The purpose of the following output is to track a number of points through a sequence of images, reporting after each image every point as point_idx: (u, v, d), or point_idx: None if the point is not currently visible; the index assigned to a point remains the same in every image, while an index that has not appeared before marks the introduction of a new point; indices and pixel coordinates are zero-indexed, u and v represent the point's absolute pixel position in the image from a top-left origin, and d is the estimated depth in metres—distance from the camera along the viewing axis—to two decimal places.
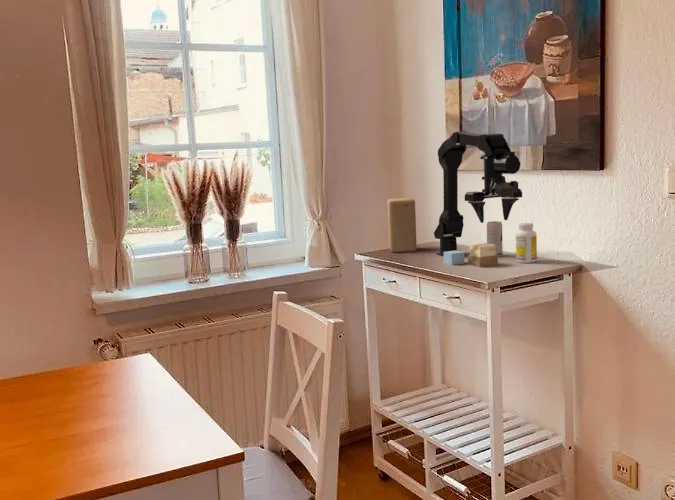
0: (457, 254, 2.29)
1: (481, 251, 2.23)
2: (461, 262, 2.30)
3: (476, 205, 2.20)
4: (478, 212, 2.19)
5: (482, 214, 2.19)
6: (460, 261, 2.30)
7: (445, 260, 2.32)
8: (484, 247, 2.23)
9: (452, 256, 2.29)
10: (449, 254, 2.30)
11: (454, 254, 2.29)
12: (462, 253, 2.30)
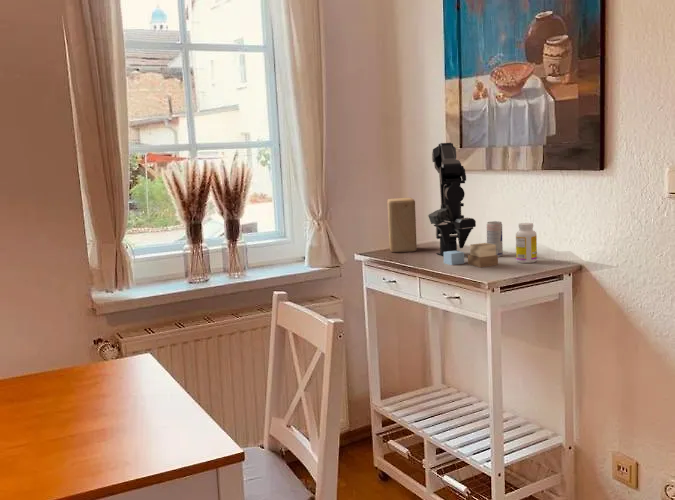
0: (457, 254, 2.29)
1: (481, 251, 2.23)
2: (461, 262, 2.30)
3: None
4: None
5: (442, 237, 2.35)
6: (460, 261, 2.30)
7: (445, 260, 2.32)
8: (484, 247, 2.23)
9: (452, 256, 2.29)
10: (449, 254, 2.30)
11: (454, 254, 2.29)
12: (462, 253, 2.30)
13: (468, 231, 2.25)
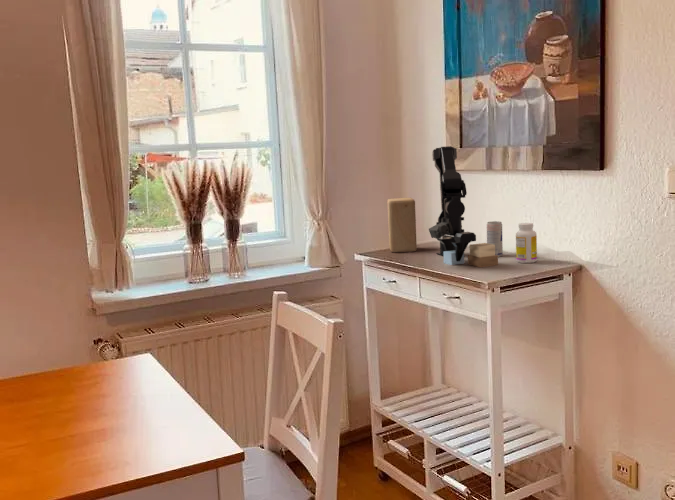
0: None
1: (480, 251, 2.23)
2: (461, 262, 2.30)
3: None
4: None
5: None
6: (460, 261, 2.30)
7: (445, 260, 2.32)
8: (483, 247, 2.23)
9: (452, 256, 2.29)
10: (449, 254, 2.30)
11: (454, 254, 2.29)
12: None
13: (465, 244, 2.28)
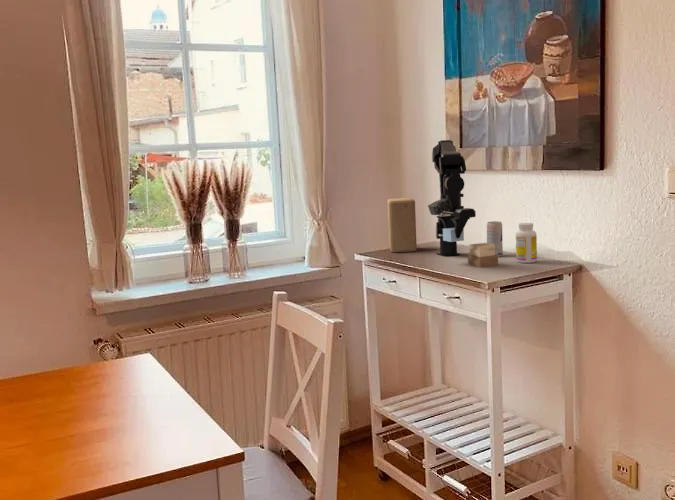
0: None
1: (481, 251, 2.23)
2: (460, 239, 2.29)
3: None
4: None
5: None
6: (459, 238, 2.29)
7: (444, 237, 2.31)
8: (483, 247, 2.23)
9: (451, 232, 2.27)
10: (448, 230, 2.28)
11: (453, 230, 2.27)
12: None
13: (465, 221, 2.26)
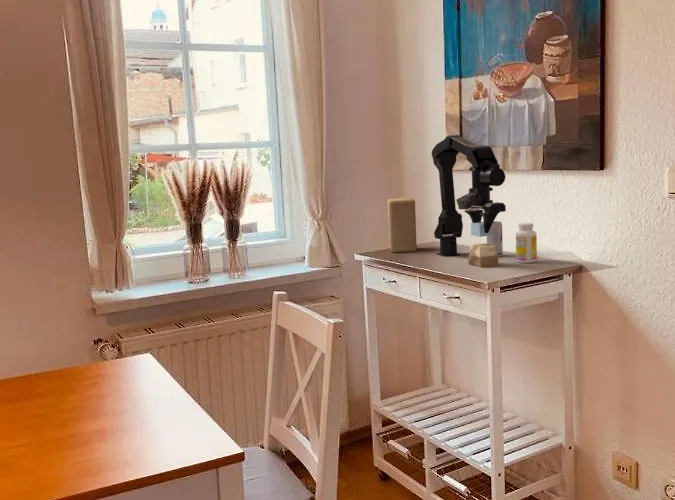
0: None
1: (481, 251, 2.23)
2: (489, 233, 2.24)
3: None
4: None
5: None
6: (488, 233, 2.24)
7: (472, 232, 2.26)
8: (484, 247, 2.23)
9: (480, 227, 2.22)
10: (477, 225, 2.23)
11: (482, 225, 2.22)
12: None
13: (494, 215, 2.21)
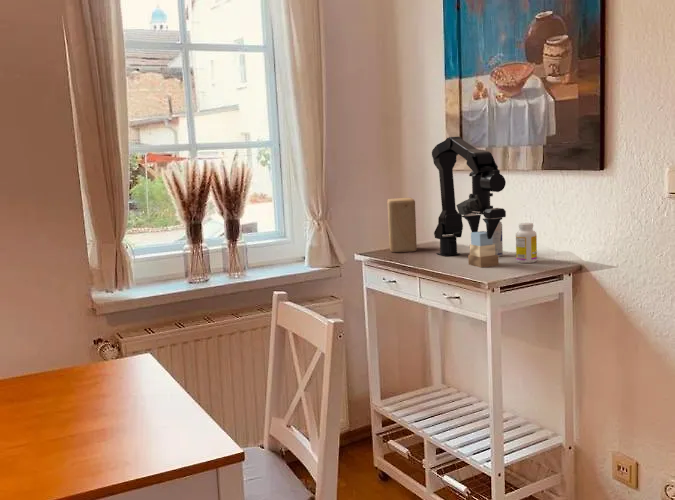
0: (485, 234, 2.23)
1: (481, 251, 2.23)
2: (489, 243, 2.24)
3: None
4: None
5: (471, 228, 2.29)
6: (488, 242, 2.24)
7: (473, 241, 2.26)
8: (484, 247, 2.23)
9: (480, 236, 2.23)
10: (477, 234, 2.24)
11: (482, 234, 2.23)
12: None
13: (497, 221, 2.20)
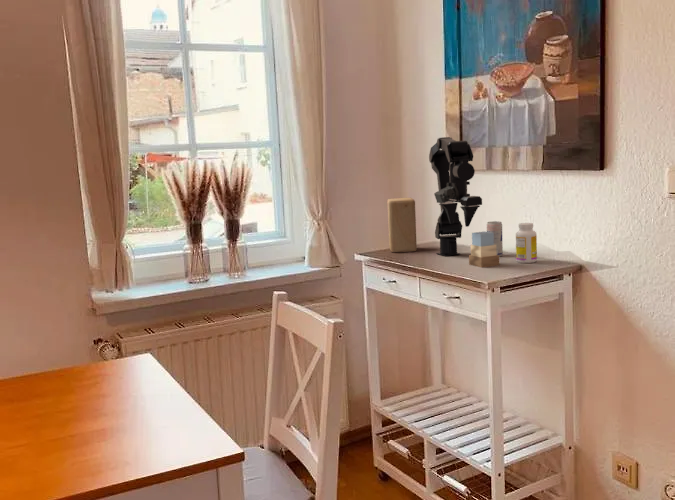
0: (486, 235, 2.23)
1: (482, 251, 2.22)
2: (490, 243, 2.24)
3: None
4: None
5: (448, 215, 2.35)
6: (489, 242, 2.24)
7: (474, 241, 2.26)
8: (485, 247, 2.23)
9: (481, 237, 2.22)
10: (478, 235, 2.23)
11: (483, 235, 2.23)
12: (491, 234, 2.24)
13: (474, 209, 2.25)
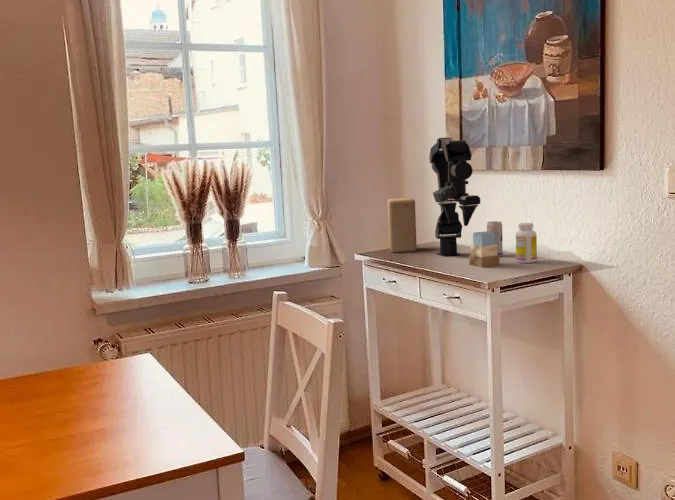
0: (487, 235, 2.23)
1: (482, 251, 2.22)
2: (491, 243, 2.24)
3: None
4: None
5: (447, 215, 2.35)
6: (490, 242, 2.23)
7: (475, 241, 2.26)
8: (485, 247, 2.23)
9: (482, 237, 2.22)
10: (479, 235, 2.23)
11: (484, 235, 2.22)
12: (492, 234, 2.23)
13: (473, 209, 2.25)
